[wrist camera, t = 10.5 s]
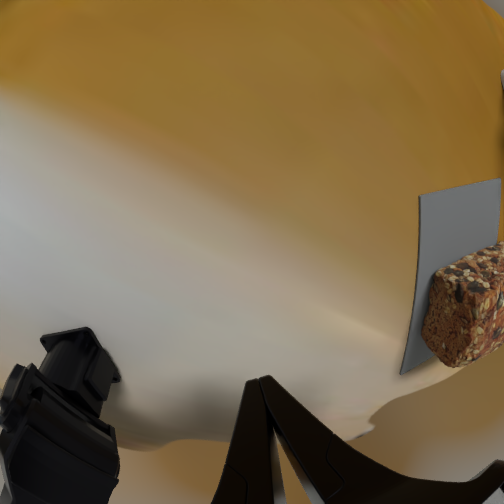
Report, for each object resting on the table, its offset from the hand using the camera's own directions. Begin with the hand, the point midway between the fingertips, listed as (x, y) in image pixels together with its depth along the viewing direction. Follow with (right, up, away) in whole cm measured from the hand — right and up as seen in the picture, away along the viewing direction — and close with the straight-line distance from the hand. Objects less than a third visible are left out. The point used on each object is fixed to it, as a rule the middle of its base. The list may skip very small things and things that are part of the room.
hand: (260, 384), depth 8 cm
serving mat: (+26, +1, +18) cm, 32 cm away
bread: (+28, 0, +18) cm, 34 cm away
